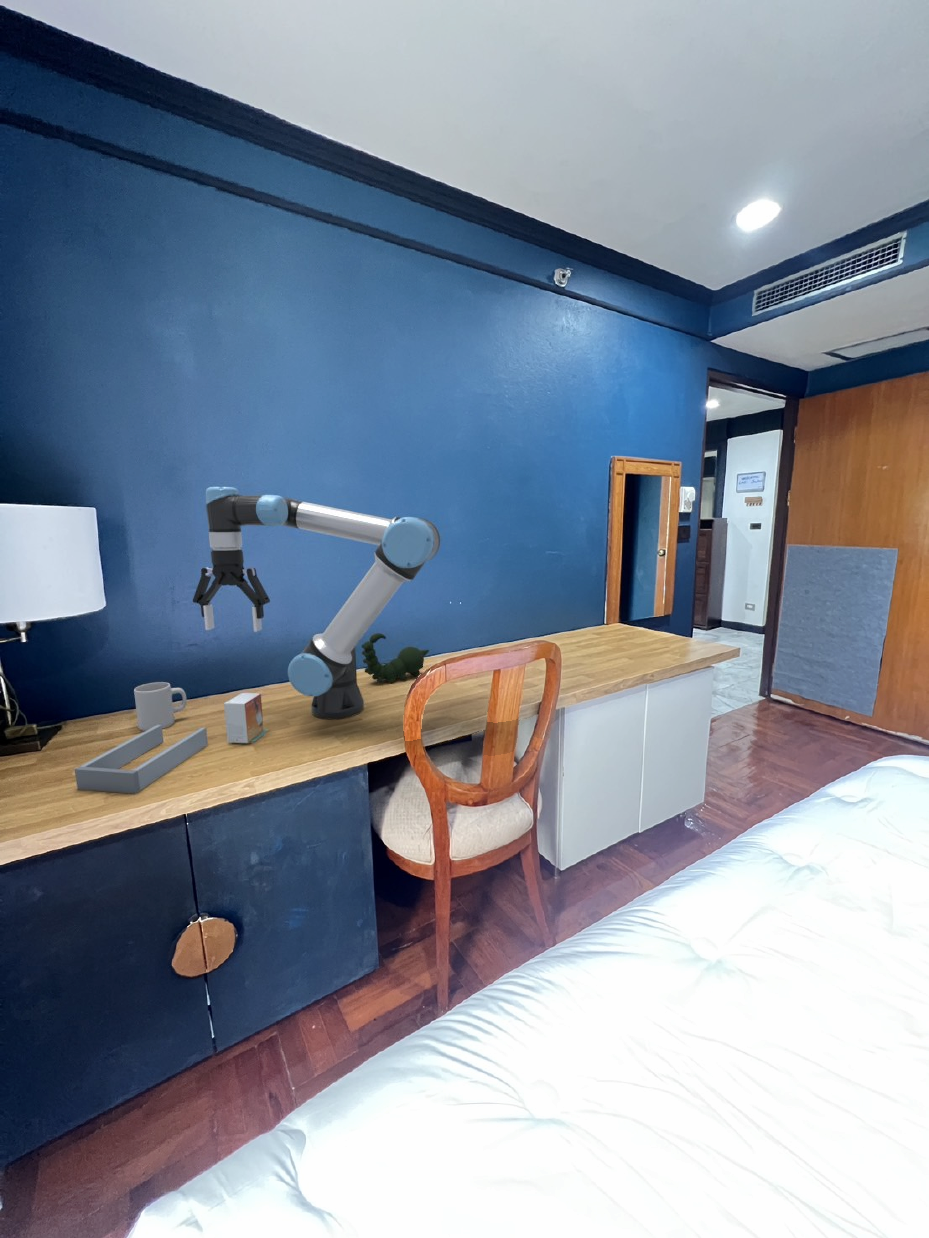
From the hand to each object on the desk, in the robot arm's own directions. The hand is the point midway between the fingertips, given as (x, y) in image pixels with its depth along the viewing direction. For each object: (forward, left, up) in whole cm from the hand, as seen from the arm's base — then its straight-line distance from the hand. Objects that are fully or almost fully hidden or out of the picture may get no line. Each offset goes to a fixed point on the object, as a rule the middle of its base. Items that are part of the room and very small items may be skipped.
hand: (233, 630), depth 131 cm
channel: (+8, +24, -27) cm, 37 cm away
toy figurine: (-32, -45, -27) cm, 61 cm away
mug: (+22, +2, -27) cm, 35 cm away
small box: (-6, +8, -26) cm, 28 cm away
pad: (-6, +7, -27) cm, 28 cm away
